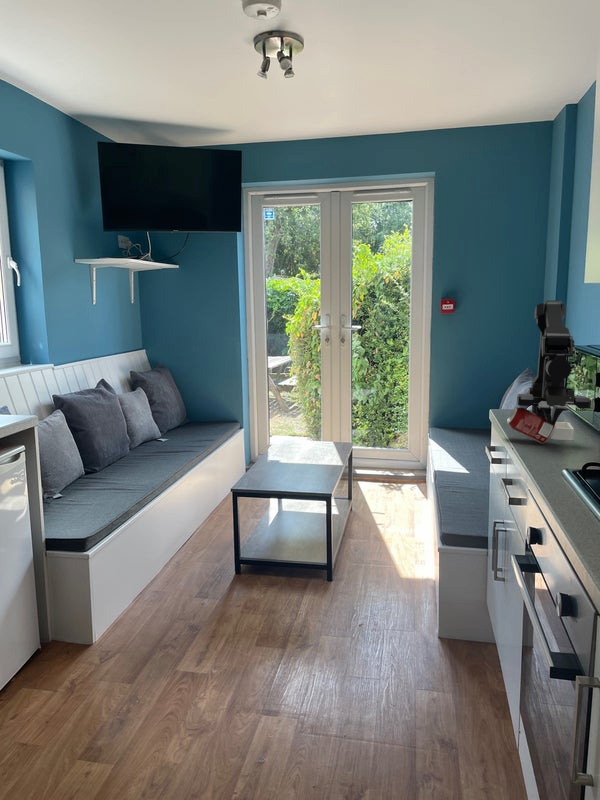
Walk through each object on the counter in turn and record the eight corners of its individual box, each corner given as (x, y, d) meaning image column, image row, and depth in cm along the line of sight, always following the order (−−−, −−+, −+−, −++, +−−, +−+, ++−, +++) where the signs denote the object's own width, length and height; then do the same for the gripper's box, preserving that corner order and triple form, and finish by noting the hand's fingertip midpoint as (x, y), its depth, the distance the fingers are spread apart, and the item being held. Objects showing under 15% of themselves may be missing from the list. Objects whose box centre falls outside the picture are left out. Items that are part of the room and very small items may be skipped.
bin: (526, 431, 182) (527, 420, 182) (568, 433, 179) (568, 422, 178) (529, 438, 174) (530, 426, 173) (573, 440, 171) (574, 429, 170)
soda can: (559, 425, 162) (519, 405, 163) (546, 446, 163) (507, 426, 164) (553, 423, 168) (515, 403, 170) (541, 443, 169) (504, 423, 171)
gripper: (521, 378, 157) (518, 434, 159) (597, 380, 152) (592, 438, 154) (518, 374, 168) (514, 427, 170) (588, 376, 163) (584, 430, 165)
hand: (550, 430), depth 164 cm, fingers closed, pressing on soda can
